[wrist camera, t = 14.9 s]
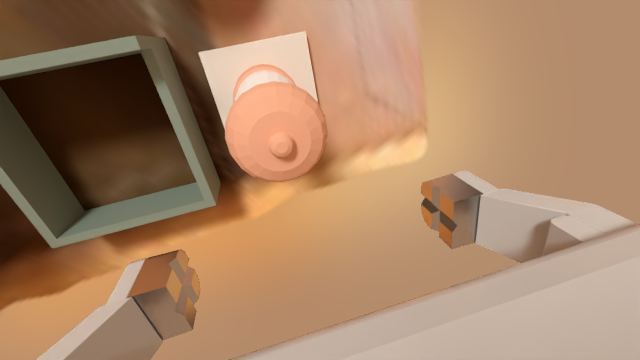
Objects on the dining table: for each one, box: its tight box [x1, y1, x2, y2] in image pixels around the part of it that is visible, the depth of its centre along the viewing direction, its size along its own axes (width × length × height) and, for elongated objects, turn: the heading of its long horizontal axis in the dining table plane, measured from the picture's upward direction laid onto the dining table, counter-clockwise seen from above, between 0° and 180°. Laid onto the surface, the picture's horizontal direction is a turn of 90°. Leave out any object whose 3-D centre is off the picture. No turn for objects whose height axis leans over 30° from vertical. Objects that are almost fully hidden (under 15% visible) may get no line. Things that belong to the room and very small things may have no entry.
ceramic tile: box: [198, 31, 318, 128], centre depth 35 cm, size 12×12×1 cm
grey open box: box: [0, 36, 221, 249], centre depth 29 cm, size 18×18×9 cm
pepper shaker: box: [225, 64, 327, 182], centre depth 26 cm, size 7×7×19 cm
